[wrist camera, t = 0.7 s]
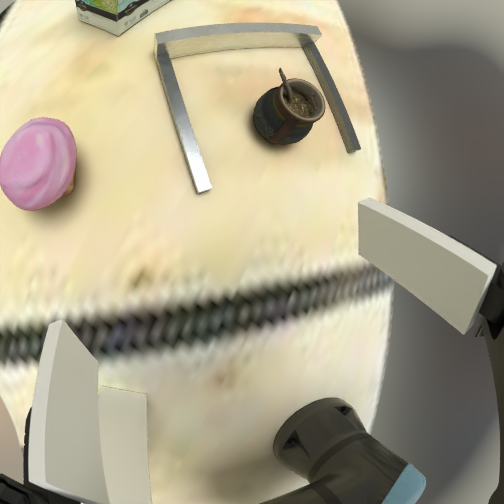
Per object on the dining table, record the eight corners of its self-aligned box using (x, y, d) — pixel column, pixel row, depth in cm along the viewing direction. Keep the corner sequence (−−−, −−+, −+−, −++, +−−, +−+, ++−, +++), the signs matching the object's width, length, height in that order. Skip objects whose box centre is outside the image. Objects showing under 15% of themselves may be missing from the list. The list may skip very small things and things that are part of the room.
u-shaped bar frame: (354, 151, 37) (372, 145, 33) (197, 194, 30) (202, 188, 26) (304, 39, 33) (316, 26, 29) (153, 51, 26) (154, 33, 22)
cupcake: (93, 206, 26) (64, 193, 16) (30, 221, 23) (-15, 216, 14) (90, 132, 25) (67, 93, 16) (29, 150, 22) (-9, 122, 13)
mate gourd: (292, 159, 33) (339, 135, 24) (237, 138, 31) (269, 102, 21) (303, 114, 34) (346, 83, 24) (252, 92, 31) (284, 51, 22)
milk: (145, 426, 29) (162, 567, 8) (102, 419, 27) (89, 556, 6) (147, 392, 29) (160, 546, 8) (100, 384, 27) (71, 531, 6)
